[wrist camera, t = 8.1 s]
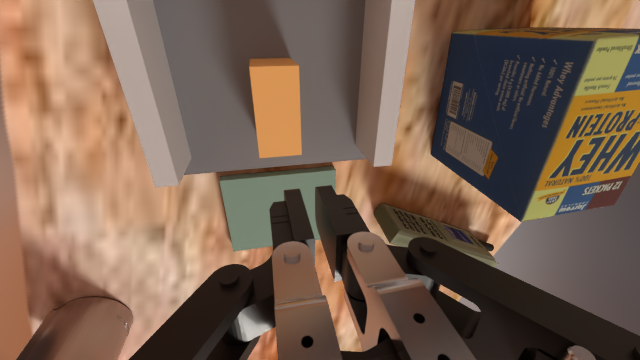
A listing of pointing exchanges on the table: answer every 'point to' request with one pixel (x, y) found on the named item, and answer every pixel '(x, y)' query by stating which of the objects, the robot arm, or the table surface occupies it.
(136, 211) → the table surface
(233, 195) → the green mat
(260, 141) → the orange block
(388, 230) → the handheld radio
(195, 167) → the holder board
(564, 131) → the protein box
